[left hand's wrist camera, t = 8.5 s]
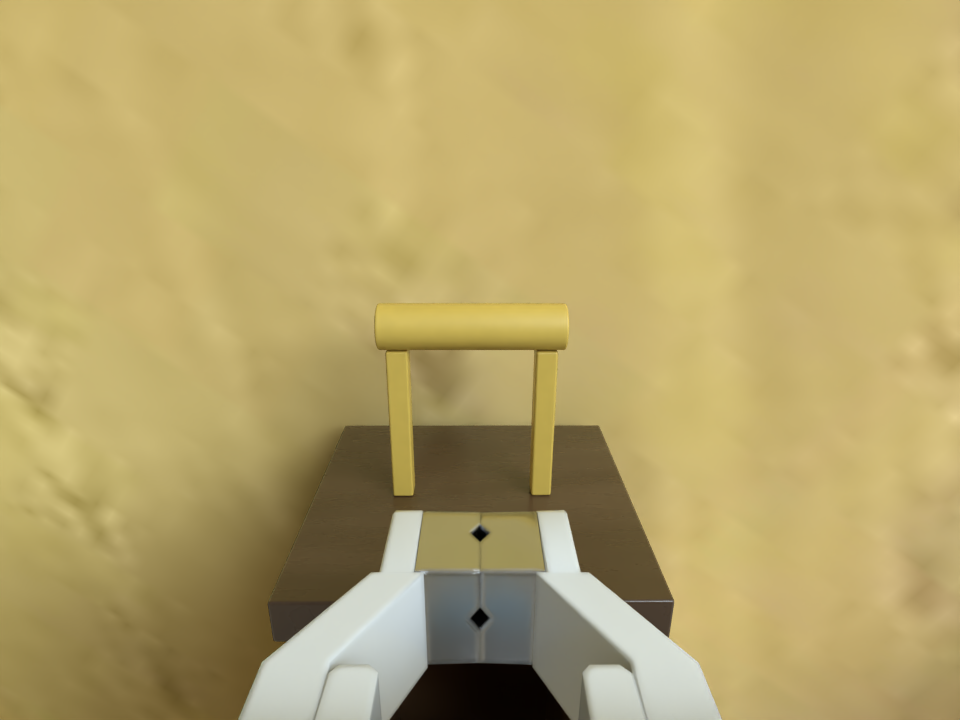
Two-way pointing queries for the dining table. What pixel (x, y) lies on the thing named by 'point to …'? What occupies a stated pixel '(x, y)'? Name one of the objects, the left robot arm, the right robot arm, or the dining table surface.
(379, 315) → the drawer
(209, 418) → the dining table surface
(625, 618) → the left robot arm
